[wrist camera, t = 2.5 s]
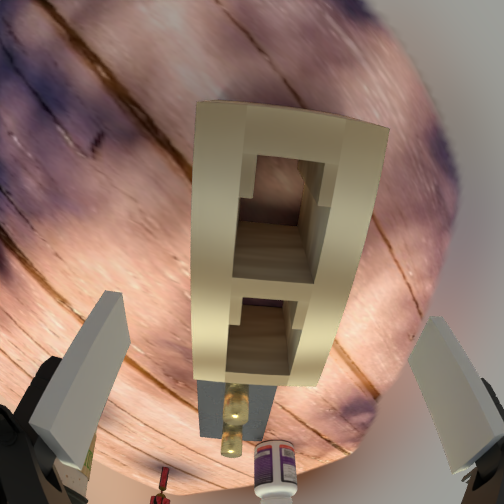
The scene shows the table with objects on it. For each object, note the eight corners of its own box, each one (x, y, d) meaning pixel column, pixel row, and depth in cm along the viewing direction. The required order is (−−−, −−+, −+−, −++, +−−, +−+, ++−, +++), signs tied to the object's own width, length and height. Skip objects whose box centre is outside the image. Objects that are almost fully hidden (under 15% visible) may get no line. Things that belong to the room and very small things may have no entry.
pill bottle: (255, 455, 38) (254, 514, 29) (253, 440, 35) (253, 505, 27) (292, 454, 38) (297, 512, 29) (295, 438, 35) (300, 503, 27)
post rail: (200, 320, 25) (187, 381, 20) (284, 327, 26) (290, 389, 20) (202, 419, 33) (196, 466, 27) (261, 423, 33) (262, 470, 27)
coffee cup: (108, 396, 32) (74, 503, 19) (116, 431, 36) (92, 519, 23) (41, 371, 31) (-5, 464, 17) (56, 410, 35) (25, 490, 22)
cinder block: (216, 99, 17) (196, 102, 11) (345, 115, 18) (389, 128, 12) (206, 312, 25) (193, 379, 19) (304, 319, 25) (316, 386, 19)
